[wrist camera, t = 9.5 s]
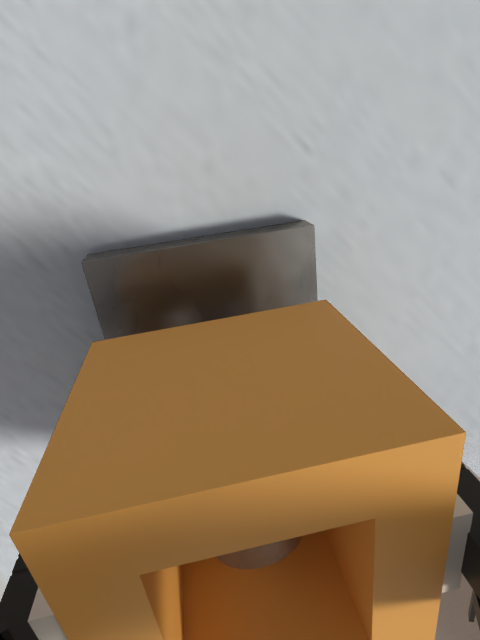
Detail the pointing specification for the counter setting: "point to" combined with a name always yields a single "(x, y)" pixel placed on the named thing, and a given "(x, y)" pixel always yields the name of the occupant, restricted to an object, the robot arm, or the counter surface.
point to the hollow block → (244, 487)
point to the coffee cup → (457, 611)
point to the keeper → (206, 297)
